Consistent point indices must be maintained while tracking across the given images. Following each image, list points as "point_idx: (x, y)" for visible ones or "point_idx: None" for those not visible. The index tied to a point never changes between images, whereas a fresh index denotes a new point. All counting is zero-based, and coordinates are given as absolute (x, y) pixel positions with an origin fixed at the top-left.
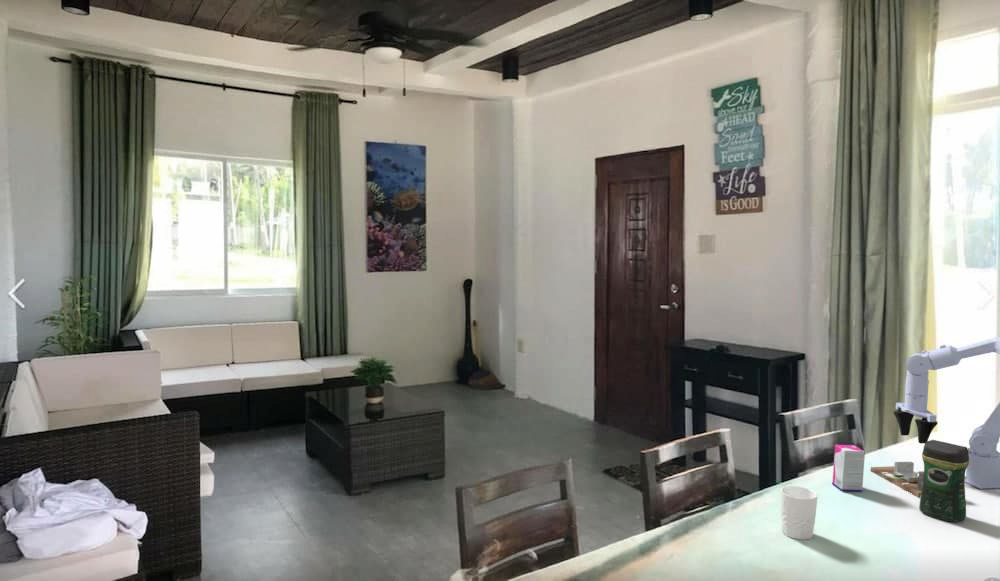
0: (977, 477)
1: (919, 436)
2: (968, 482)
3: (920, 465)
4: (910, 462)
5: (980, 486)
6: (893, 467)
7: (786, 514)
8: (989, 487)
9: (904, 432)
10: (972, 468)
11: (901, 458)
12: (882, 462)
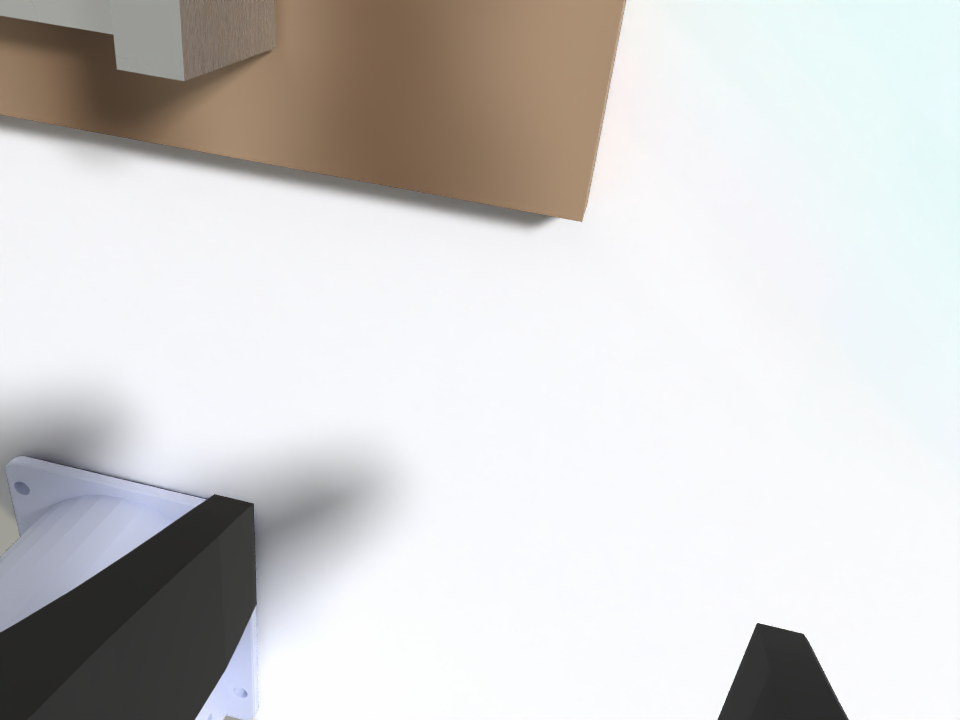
0: (21, 542)
1: (115, 571)
2: (118, 484)
3: (655, 524)
4: (138, 29)
5: (32, 489)
6: (569, 40)
7: None
8: (20, 531)
9: (751, 713)
10: (10, 593)
11: (926, 537)
12: (933, 191)
